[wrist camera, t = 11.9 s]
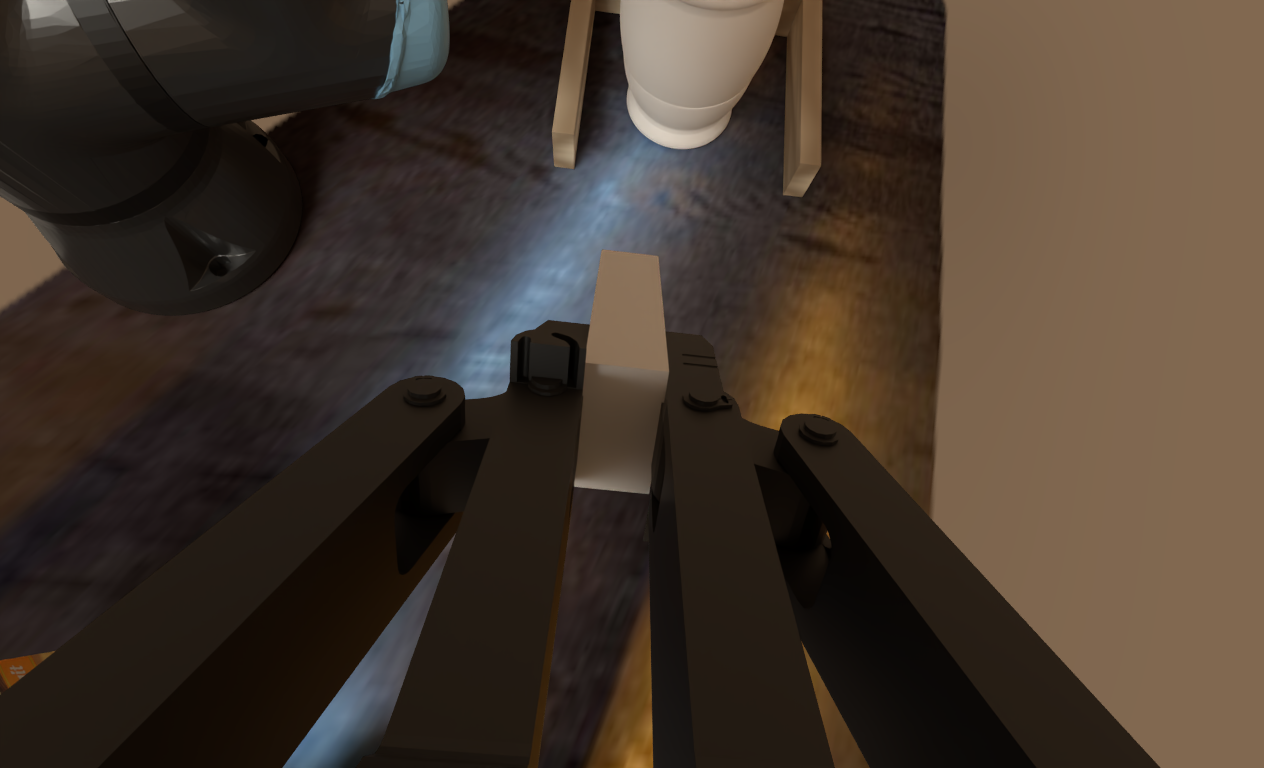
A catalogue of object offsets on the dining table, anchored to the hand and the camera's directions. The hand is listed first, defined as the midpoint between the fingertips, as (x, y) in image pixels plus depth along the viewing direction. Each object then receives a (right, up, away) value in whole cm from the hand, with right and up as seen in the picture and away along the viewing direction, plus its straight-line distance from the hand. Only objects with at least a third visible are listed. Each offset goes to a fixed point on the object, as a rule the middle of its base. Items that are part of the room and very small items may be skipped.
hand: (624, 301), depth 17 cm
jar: (+4, +20, +33) cm, 39 cm away
